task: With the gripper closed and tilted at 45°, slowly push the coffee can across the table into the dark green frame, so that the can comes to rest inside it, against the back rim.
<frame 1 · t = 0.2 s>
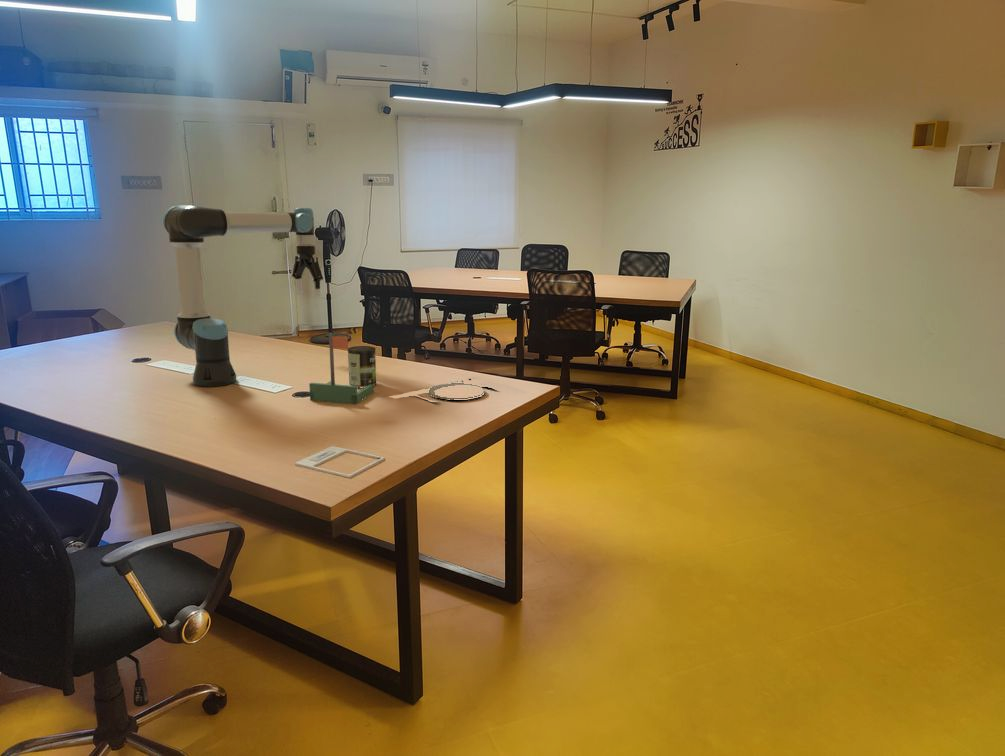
hand: (308, 295, 287), 28 cm above the table, tool pointing down, fingers open, 13 cm apart
place mat: (457, 396, 241), on the table
coffee can: (362, 385, 251), on the table
green frame: (343, 395, 236), on the table
photo frame: (340, 464, 175), on the table
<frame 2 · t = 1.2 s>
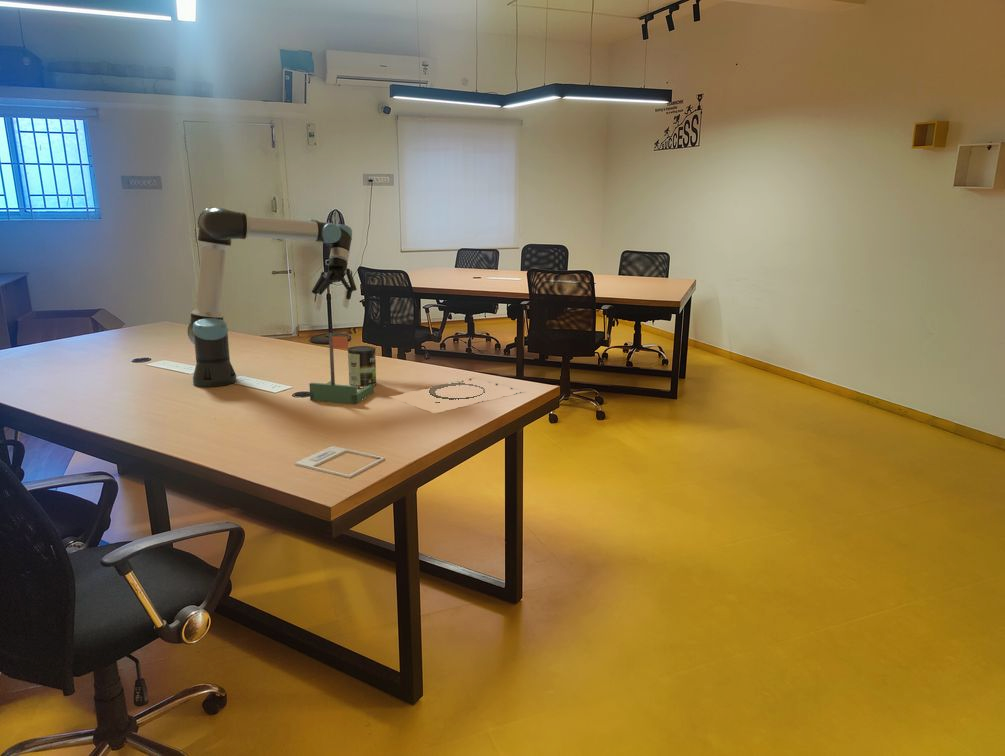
hand: (331, 308, 268), 25 cm above the table, tool tilted 30°, fingers open, 13 cm apart
nothing on the table moved.
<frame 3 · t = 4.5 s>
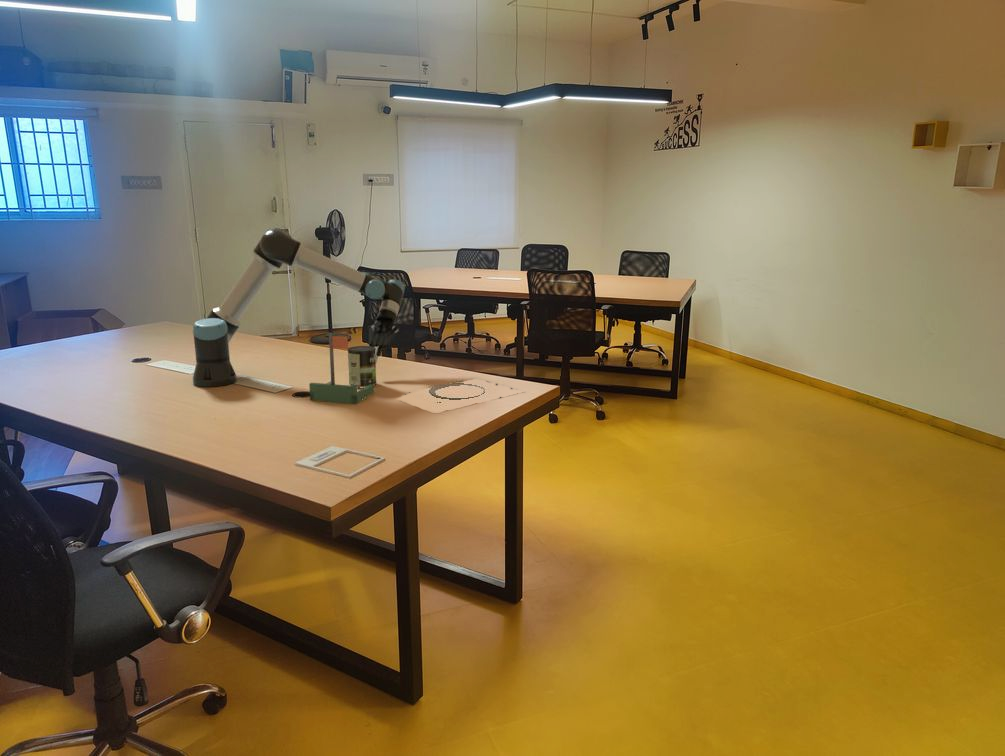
hand: (373, 362, 258), 7 cm above the table, tool tilted 45°, fingers closed
nothing on the table moved.
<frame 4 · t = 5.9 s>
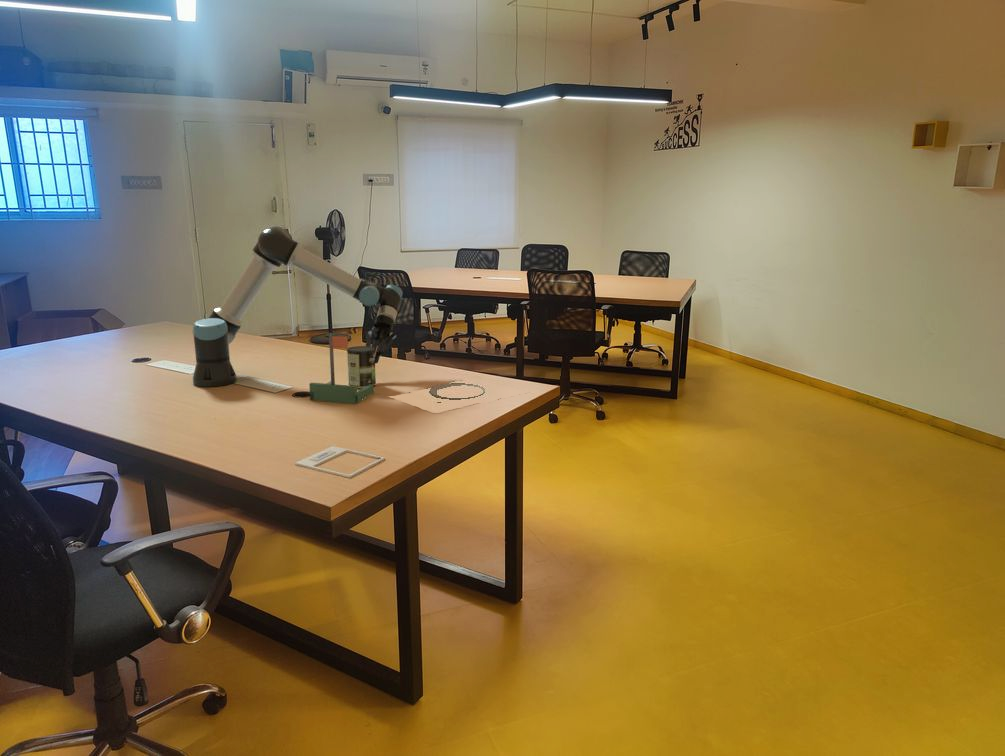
hand: (370, 369, 255), 5 cm above the table, tool tilted 45°, fingers closed
coffee can: (362, 385, 251), on the table, touching gripper
everything else where it was.
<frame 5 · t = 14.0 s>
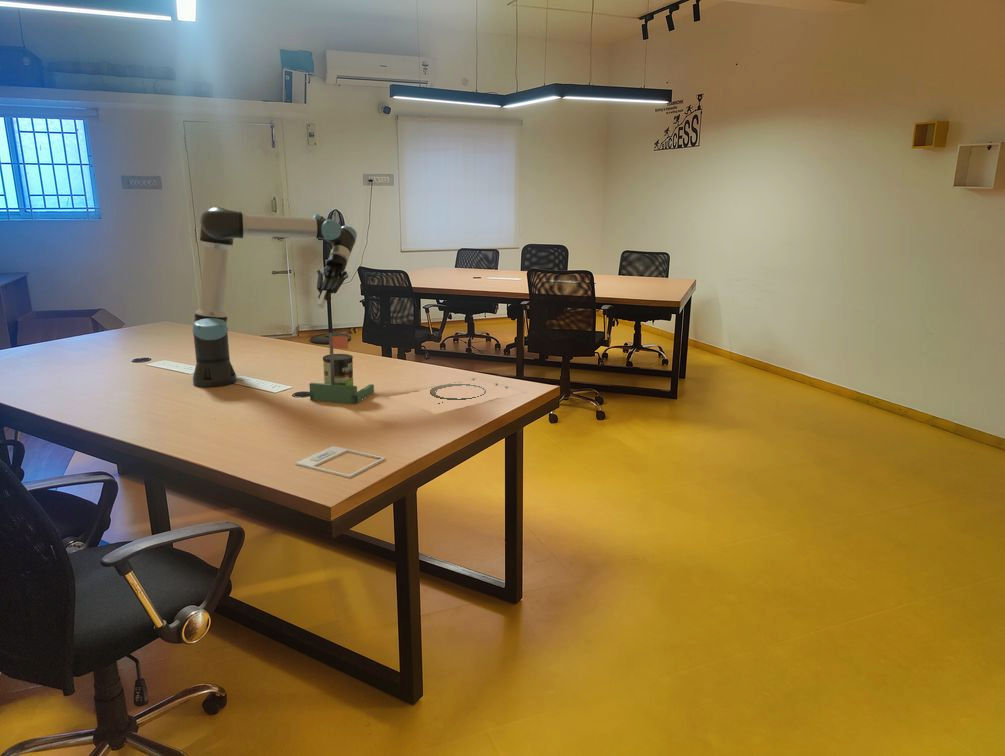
hand: (320, 305, 255), 28 cm above the table, tool tilted 45°, fingers closed
coffee can: (339, 395, 237), on the table
everything else where it was.
at the end: coffee can inside the target area on the green frame (2.4 cm from its centre), point 0.0 cm above the green frame's base; coffee can tilted 0°; coffee can moved 15.8 cm from its start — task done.
